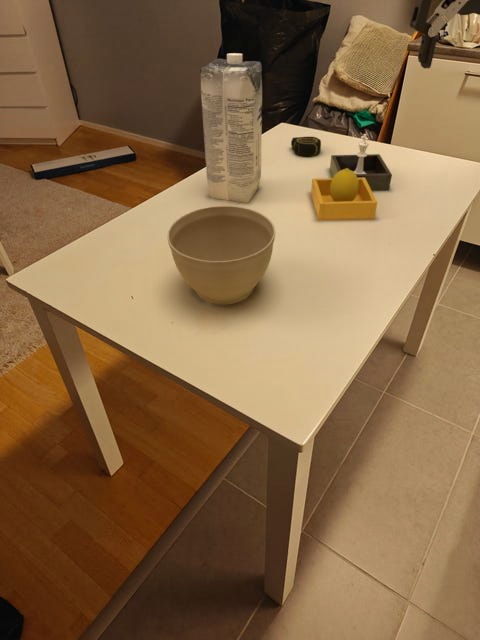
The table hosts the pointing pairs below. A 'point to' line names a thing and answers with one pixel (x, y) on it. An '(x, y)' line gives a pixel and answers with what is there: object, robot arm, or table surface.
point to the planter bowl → (222, 251)
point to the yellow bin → (342, 202)
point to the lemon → (344, 186)
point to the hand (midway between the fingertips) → (455, 66)
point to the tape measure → (306, 146)
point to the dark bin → (364, 169)
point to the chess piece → (361, 155)
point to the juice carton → (232, 127)
